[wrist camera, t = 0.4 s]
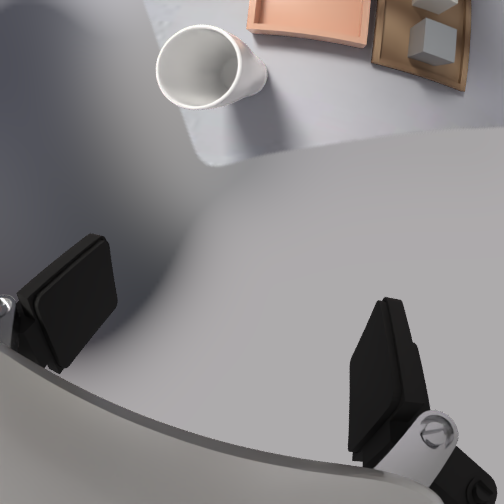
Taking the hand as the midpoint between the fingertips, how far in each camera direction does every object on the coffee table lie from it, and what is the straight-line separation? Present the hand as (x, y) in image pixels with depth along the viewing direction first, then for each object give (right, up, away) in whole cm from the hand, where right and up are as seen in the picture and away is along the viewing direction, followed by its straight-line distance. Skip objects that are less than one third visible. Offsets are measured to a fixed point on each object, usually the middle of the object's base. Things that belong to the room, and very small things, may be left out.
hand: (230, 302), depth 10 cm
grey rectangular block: (+20, +24, +15) cm, 34 cm away
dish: (+7, +31, +15) cm, 35 cm away
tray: (+20, +27, +13) cm, 36 cm away
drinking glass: (0, +22, +22) cm, 31 cm away
